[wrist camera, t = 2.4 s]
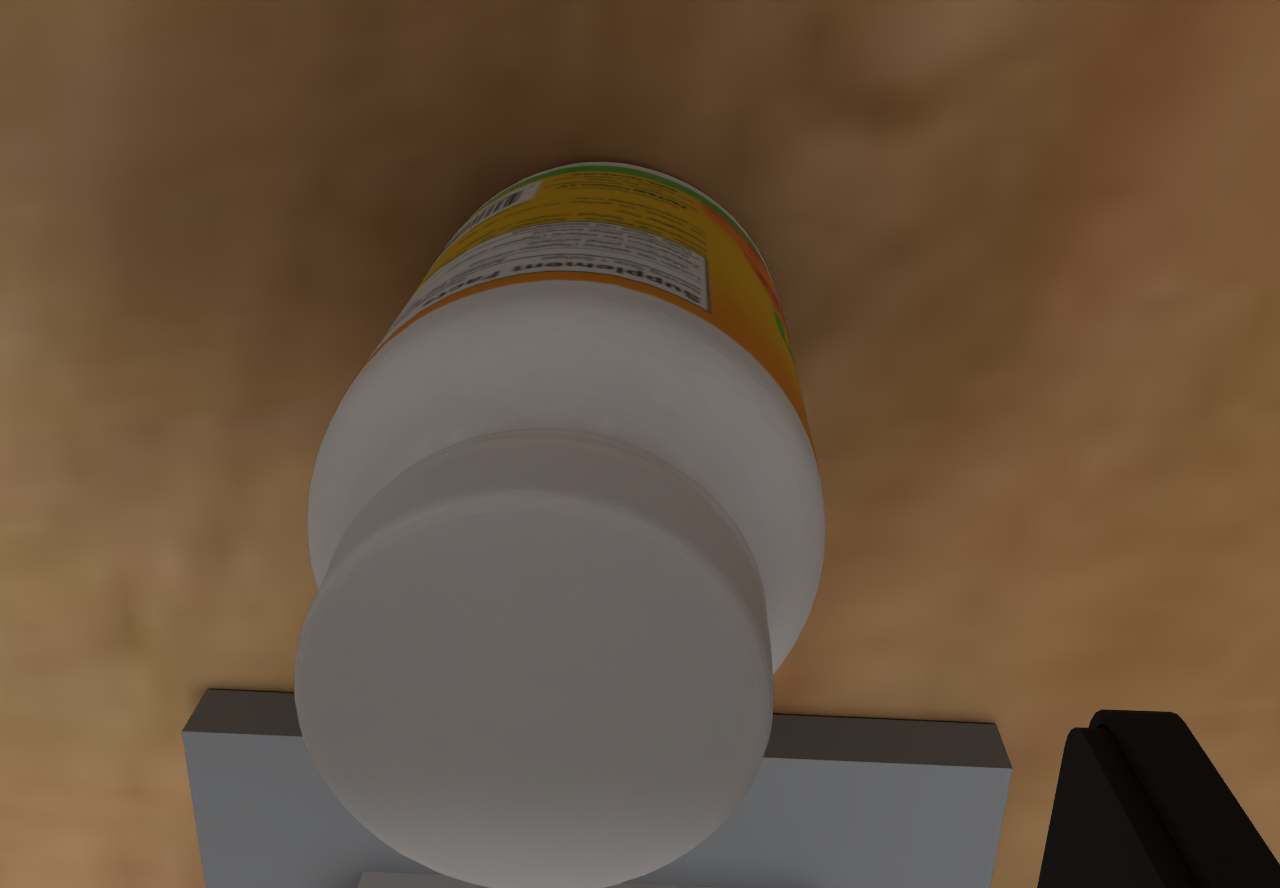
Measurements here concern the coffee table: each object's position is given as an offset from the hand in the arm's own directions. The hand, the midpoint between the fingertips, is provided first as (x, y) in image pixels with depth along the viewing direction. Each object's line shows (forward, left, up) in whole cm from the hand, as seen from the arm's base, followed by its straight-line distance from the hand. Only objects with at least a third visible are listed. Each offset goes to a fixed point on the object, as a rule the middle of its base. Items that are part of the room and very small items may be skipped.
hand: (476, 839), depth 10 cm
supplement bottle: (-1, 0, -11) cm, 11 cm away
